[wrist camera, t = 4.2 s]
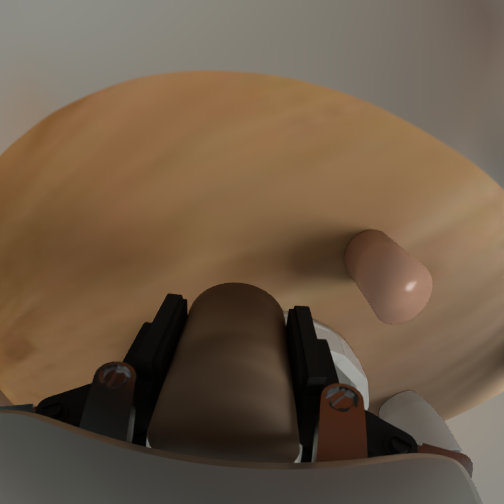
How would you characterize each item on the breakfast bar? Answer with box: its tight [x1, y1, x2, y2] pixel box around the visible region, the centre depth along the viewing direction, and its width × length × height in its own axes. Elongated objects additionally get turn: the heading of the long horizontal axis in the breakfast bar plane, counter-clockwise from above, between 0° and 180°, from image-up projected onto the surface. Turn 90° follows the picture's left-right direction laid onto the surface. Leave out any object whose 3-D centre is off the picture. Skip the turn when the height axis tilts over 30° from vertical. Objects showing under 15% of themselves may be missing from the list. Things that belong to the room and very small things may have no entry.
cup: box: [379, 391, 462, 453], centre depth 23 cm, size 8×8×10 cm
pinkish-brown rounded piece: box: [344, 230, 433, 325], centre depth 18 cm, size 4×4×6 cm
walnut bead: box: [147, 283, 300, 463], centre depth 9 cm, size 4×4×6 cm
